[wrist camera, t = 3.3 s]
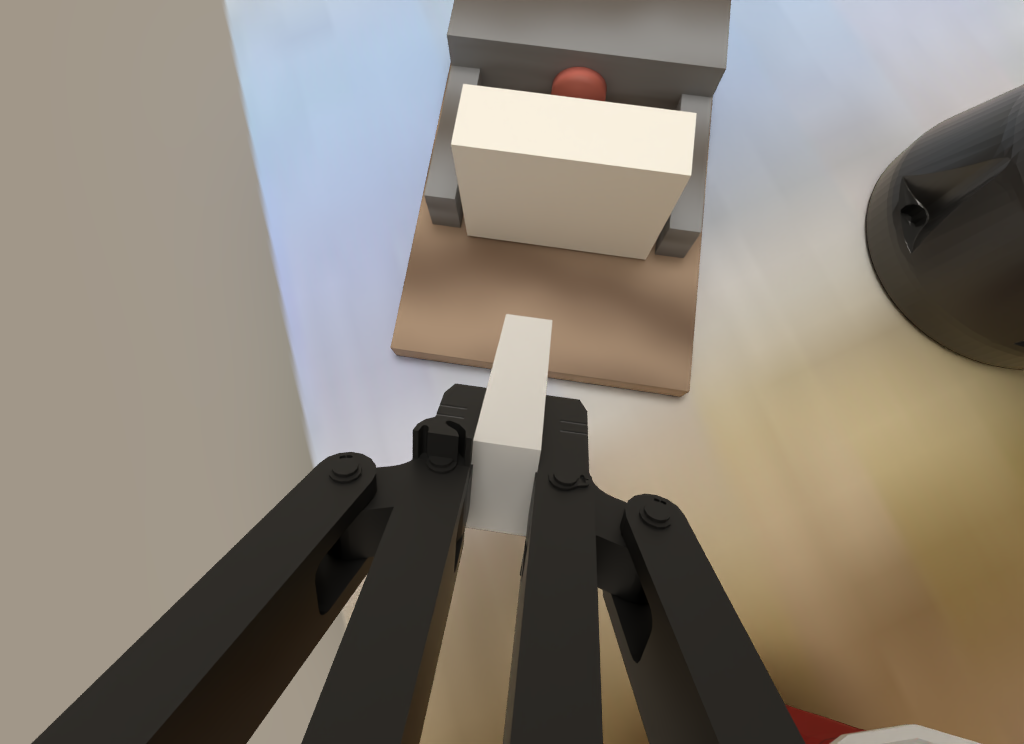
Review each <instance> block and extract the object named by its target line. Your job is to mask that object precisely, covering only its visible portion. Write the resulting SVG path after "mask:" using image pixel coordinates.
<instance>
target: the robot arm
mask: <svg viewBox="0 0 1024 744" xmlns="http://www.w3.org/2000/svg"><path fill="white" fill-rule="evenodd" d="M867 240H868V246H869V251H870V255H871V259H872V262H873V265H874V267H875V270H876V272H877V275H878V277H879V279H880V281H881V283H882V285H883V286H884V288H885V290H886V291H887V293H888V294H889V296H890V297H891V299H892V300H893V302H894V303H895V304H896V305H897V307H898V308H899V309H900V310H901V311H902V312H903V314H904V315H905V316H906V317H907V318H908V319H909V320H910V321H911V322H912V323H913V324H914V325H916V326H917V327H918V328H919V329H920V330H921V331H923V332H924V333H925V334H927V335H928V336H929V337H931V338H932V339H933V340H935V341H937V342H938V343H940V344H941V345H943V346H945V347H946V348H948V349H950V350H952V351H954V352H956V353H958V354H960V355H963V356H965V357H968V358H970V359H973V360H976V361H979V362H982V363H986V364H989V365H994V366H999V367H1005V368H1015V369H1024V85H1022V86H1019V87H1017V88H1015V89H1013V90H1010V91H1008V92H1006V93H1004V94H1002V95H999V96H997V97H995V98H993V99H991V100H988V101H986V102H984V103H982V104H980V105H977V106H975V107H973V108H971V109H968V110H966V111H964V112H962V113H960V114H957V115H955V116H953V117H951V118H949V119H947V120H945V121H943V122H941V123H939V124H938V125H936V126H935V127H933V128H931V129H930V130H929V131H927V132H926V133H924V134H923V135H922V136H921V137H919V138H918V139H917V140H916V141H915V142H913V143H912V144H911V145H910V146H909V147H908V148H907V149H906V150H905V151H903V152H902V153H901V154H900V155H899V156H898V157H897V158H896V159H895V160H894V161H893V162H892V163H891V164H890V165H889V166H888V167H887V168H886V170H885V171H884V172H883V174H882V175H881V177H880V179H879V180H878V182H877V184H876V186H875V188H874V190H873V193H872V196H871V199H870V203H869V207H868V213H867ZM551 331H552V320H547V319H540V318H533V317H525V316H518V315H511V314H506V317H505V320H504V324H503V328H502V332H501V336H500V340H499V344H498V347H497V351H496V355H495V359H494V363H493V367H492V370H491V374H490V378H489V382H488V386H487V388H483V387H476V386H469V385H462V384H454V385H453V386H452V387H451V388H450V389H448V390H447V391H446V392H445V393H444V395H443V398H442V401H441V403H440V406H439V409H438V411H437V415H436V416H435V417H433V418H429V419H425V420H424V421H422V422H420V423H418V424H417V425H416V427H415V428H414V429H413V459H412V460H411V461H409V462H407V463H404V464H401V465H396V466H389V467H378V468H376V465H375V463H374V462H373V461H372V459H371V458H369V457H367V456H365V455H363V454H360V453H354V452H346V453H338V454H335V455H332V456H329V457H328V458H326V459H325V460H323V461H322V462H320V463H319V464H318V465H317V466H316V467H315V468H314V469H313V470H312V471H311V472H310V473H309V474H308V475H307V476H306V477H305V478H304V479H303V480H302V481H301V482H300V483H299V484H298V485H297V486H296V487H295V488H293V490H291V491H290V492H289V493H288V494H287V495H286V496H285V497H284V498H283V499H282V500H281V501H280V502H279V503H278V504H277V505H276V506H275V507H274V508H273V509H272V510H271V511H270V512H269V513H268V514H267V515H266V516H265V517H264V518H263V519H262V520H261V521H260V522H259V523H258V524H257V525H256V526H255V527H253V528H252V529H251V530H250V531H249V532H248V534H246V535H245V536H244V537H243V538H242V539H241V540H240V541H239V542H238V543H237V544H236V545H235V546H234V547H233V548H232V549H231V550H230V551H229V552H228V553H227V554H226V555H225V556H224V557H223V558H222V559H221V560H219V562H217V563H216V564H215V565H214V566H213V567H212V568H211V569H210V570H209V571H208V572H207V573H206V574H205V575H204V576H203V577H202V578H201V579H200V580H199V581H198V582H197V583H196V584H195V585H194V586H193V587H192V588H191V589H190V590H189V591H188V592H187V593H186V594H185V595H184V596H183V597H181V598H180V599H179V600H178V601H177V602H176V603H175V604H174V605H173V606H172V607H171V608H170V609H169V610H168V611H167V612H166V613H165V614H164V615H163V616H162V617H161V618H160V619H159V620H158V621H157V622H156V623H155V624H154V625H153V626H152V627H151V628H150V629H149V630H148V631H147V632H146V633H144V635H143V636H141V637H140V638H139V639H138V640H137V641H136V642H135V643H134V644H133V645H132V646H131V647H130V648H129V649H128V650H127V651H126V652H125V653H124V654H123V655H122V656H121V657H120V658H119V659H118V660H117V661H116V662H115V663H114V664H113V665H112V666H111V667H110V668H109V669H107V670H106V671H105V672H104V673H103V674H102V675H101V676H100V677H99V678H98V679H97V680H96V681H95V682H94V683H93V684H92V685H91V686H90V687H89V688H88V689H87V690H86V691H85V692H84V693H83V694H82V695H81V696H80V697H79V698H78V699H77V700H76V701H75V702H74V703H73V704H72V705H70V707H68V708H67V709H66V710H65V711H64V712H63V713H62V714H61V716H59V717H58V718H57V719H56V720H55V721H54V722H53V723H52V724H51V725H50V726H49V727H48V728H47V729H46V730H45V731H44V732H43V733H42V734H41V735H40V736H39V737H38V738H37V739H36V740H35V741H34V742H33V743H32V744H246V743H247V742H248V741H249V739H250V738H251V736H252V735H253V734H254V732H255V731H256V729H257V728H258V726H259V725H260V724H261V722H262V721H263V719H264V718H265V717H266V715H267V714H268V712H269V711H270V709H271V708H272V707H273V705H274V704H275V703H276V701H277V700H278V698H279V697H280V696H281V694H282V693H283V691H284V690H285V689H286V687H287V686H288V684H289V683H290V681H291V680H292V679H293V677H294V676H295V674H296V673H297V672H298V670H299V669H300V668H301V666H302V665H303V663H304V662H305V661H306V659H307V658H308V656H309V655H310V653H311V652H312V651H313V649H314V648H315V646H316V645H317V644H318V642H319V641H320V639H321V638H322V637H323V635H324V634H325V632H326V631H327V630H328V628H329V627H330V625H331V624H332V623H333V621H334V620H335V618H336V617H337V616H338V614H339V613H340V611H341V610H342V609H343V607H344V606H345V604H346V603H347V602H348V600H349V599H350V597H351V596H352V595H353V593H354V592H355V590H356V589H357V588H358V586H359V585H360V583H361V582H362V580H363V579H364V578H365V576H366V575H367V577H366V579H365V582H364V585H363V587H362V590H361V592H360V595H359V597H358V600H357V602H356V605H355V608H354V610H353V613H352V615H351V618H350V620H349V623H348V625H347V628H346V631H345V633H344V636H343V638H342V641H341V643H340V646H339V649H338V651H337V654H336V656H335V659H334V661H333V664H332V666H331V669H330V672H329V674H328V677H327V679H326V682H325V685H324V687H323V690H322V692H321V695H320V697H319V700H318V702H317V705H316V708H315V710H314V713H313V715H312V718H311V720H310V723H309V725H308V728H307V731H306V733H305V736H304V738H303V741H302V743H301V744H419V742H420V738H421V733H422V729H423V724H424V720H425V715H426V711H427V706H428V702H429V698H430V693H431V689H432V684H433V680H434V675H435V671H436V666H437V662H438V657H439V653H440V648H441V644H442V639H443V635H444V630H445V626H446V621H447V617H448V612H449V608H450V603H451V599H452V594H453V590H454V585H455V581H456V576H457V572H458V567H459V563H460V558H461V554H462V549H463V543H464V531H465V526H466V527H467V528H473V529H480V530H487V531H493V532H500V533H506V534H513V535H520V536H526V541H525V547H524V553H523V559H522V565H521V571H520V576H521V580H520V589H519V598H518V608H517V617H516V626H515V635H514V644H513V654H512V663H511V672H510V681H509V691H508V700H507V709H506V718H505V728H504V737H503V744H603V732H602V703H601V674H600V646H599V617H598V588H600V589H602V590H603V597H604V600H605V603H606V606H607V610H608V613H609V616H610V619H611V622H612V626H613V629H614V632H615V635H616V638H617V642H618V645H619V648H620V651H621V654H622V658H623V661H624V664H625V667H626V670H627V674H628V677H629V680H630V683H631V686H632V689H633V693H634V696H635V699H636V702H637V705H638V709H639V712H640V715H641V718H642V721H643V725H644V728H645V731H646V734H647V737H648V741H649V744H806V743H805V742H804V740H803V738H802V736H801V734H800V732H799V730H798V728H797V726H796V725H795V723H794V721H793V719H792V717H791V715H790V713H789V711H788V710H787V708H786V706H785V704H784V702H783V700H782V698H781V696H780V694H779V693H778V691H777V689H776V687H775V685H774V683H773V681H772V679H771V677H770V676H769V674H768V672H767V670H766V668H765V666H764V664H763V662H762V660H761V659H760V657H759V655H758V653H757V651H756V649H755V647H754V645H753V644H752V642H751V640H750V638H749V636H748V634H747V632H746V630H745V628H744V627H743V625H742V623H741V621H740V619H739V617H738V615H737V613H736V611H735V610H734V608H733V606H732V604H731V602H730V600H729V598H728V596H727V595H726V593H725V591H724V589H723V587H722V585H721V583H720V581H719V579H718V578H717V576H716V574H715V572H714V570H713V568H712V566H711V564H710V562H709V561H708V559H707V557H706V555H705V553H704V551H703V549H702V547H701V546H700V544H699V542H698V540H697V538H696V536H695V534H694V532H693V530H692V529H691V527H690V525H689V523H688V521H687V519H686V517H685V515H684V514H683V513H682V511H681V510H680V509H679V508H678V506H676V505H675V504H673V503H672V502H671V501H669V500H668V499H665V498H662V497H660V496H657V495H651V494H642V495H637V496H634V497H633V498H631V499H630V500H628V502H627V503H626V502H624V501H621V500H619V499H616V498H614V497H612V496H610V495H608V494H606V493H604V492H603V491H602V490H600V489H599V488H598V487H597V486H596V485H595V484H594V483H593V480H592V477H591V476H590V474H589V457H588V426H587V424H588V422H587V410H586V409H585V407H584V406H583V404H582V403H581V401H580V400H577V399H570V398H563V397H556V396H549V395H546V387H547V376H548V365H549V353H550V342H551ZM466 522H467V523H466ZM367 573H368V574H367ZM597 587H598V588H597Z"/></svg>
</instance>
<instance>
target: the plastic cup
mask: <svg viewBox="0 0 1024 744" xmlns="http://www.w3.org/2000/svg"><path fill="white" fill-rule="evenodd" d="M785 706H786V708H787V710H788V711H789V713H790V715H791V717H792V719H793V721H794V723H795V725H796V726H797V728H798V730H799V732H800V734H801V736H802V738H803V740H804V742H805V743H806V744H981V743H977V742H974V741H971V740H967V739H964V738H960V737H957V736H954V735H950V734H947V733H943V732H940V731H937V730H933V729H930V728H926V727H923V726H920V725H916V724H905V725H899V726H893V727H886V728H880V729H874V730H868V731H866V730H863V729H858V728H855V727H852V726H849V725H846V724H843V723H840V722H837V721H834V720H832V719H829V718H826V717H823V716H820V715H816V714H813V713H810V712H806V711H803V710H800V709H796V708H793V707H791V706H788V705H785Z"/></svg>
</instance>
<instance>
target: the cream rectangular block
mask: <svg viewBox="0 0 1024 744" xmlns="http://www.w3.org/2000/svg"><path fill="white" fill-rule="evenodd" d="M696 114H697V113H692V112H684V111H676V110H668V109H660V108H652V107H644V106H636V105H628V104H620V103H612V102H604V101H597V100H589V99H581V98H573V97H565V96H557V95H549V94H541V93H533V92H525V91H517V90H509V89H501V88H493V87H485V86H477V85H469V84H463V87H462V92H461V97H460V102H459V107H458V112H457V117H456V122H455V127H454V132H453V137H452V142H451V147H452V153H453V158H454V164H455V170H456V175H457V181H458V186H459V192H460V197H461V203H462V208H463V214H464V219H465V225H466V230H467V235H468V236H475V237H483V238H490V239H497V240H505V241H512V242H519V243H527V244H534V245H541V246H549V247H556V248H563V249H571V250H578V251H585V252H592V253H600V254H607V255H614V256H622V257H629V258H636V259H644V260H646V258H647V257H648V255H649V253H650V251H651V249H652V247H653V245H654V244H655V242H656V240H657V238H658V236H659V234H660V232H661V231H662V229H663V227H664V225H665V223H666V221H667V220H668V218H669V216H670V214H671V212H672V210H673V208H674V207H675V205H676V203H677V201H678V199H679V197H680V195H681V194H682V192H683V190H684V188H685V186H686V184H687V182H688V181H689V179H690V177H691V172H692V160H693V149H694V137H695V126H696Z"/></svg>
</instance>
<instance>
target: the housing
mask: <svg viewBox="0 0 1024 744" xmlns="http://www.w3.org/2000/svg"><path fill="white" fill-rule="evenodd" d="M730 8H731V0H454V4H453V9H452V14H451V18H450V23H449V28H448V32H447V38H448V45H449V52H450V59H451V64H450V69H449V73H448V78H447V83H446V87H445V92H444V97H443V102H442V106H441V111H440V116H439V121H438V125H437V130H436V135H435V140H434V144H433V149H432V154H431V159H430V163H429V168H428V173H427V177H426V182H425V187H424V192H423V196H422V201H421V206H420V211H419V215H418V220H417V225H416V230H415V234H414V239H413V244H412V249H411V253H410V258H409V263H408V267H407V272H406V277H405V282H404V286H403V291H402V296H401V301H400V305H399V310H398V315H397V320H396V324H395V329H394V334H393V339H392V343H391V349H392V350H393V351H394V353H395V354H396V355H400V356H406V357H413V358H420V359H427V360H434V361H441V362H447V363H454V364H461V365H468V366H475V367H481V368H488V369H492V367H493V363H494V359H495V355H496V351H497V347H498V344H499V340H500V336H501V332H502V328H503V324H504V320H505V317H506V314H511V315H518V316H525V317H533V318H540V319H547V320H552V331H551V342H550V353H549V365H548V376H547V377H550V378H557V379H563V380H570V381H577V382H584V383H591V384H597V385H604V386H611V387H618V388H625V389H632V390H638V391H645V392H652V393H659V394H666V395H672V396H679V397H681V396H683V395H684V394H686V393H688V392H689V389H690V377H691V364H692V351H693V339H694V326H695V313H696V301H697V288H698V275H699V263H700V250H701V237H702V224H703V212H704V199H705V186H706V174H707V161H708V148H709V136H710V123H711V110H712V98H713V94H714V92H715V90H716V88H717V86H718V84H719V82H720V80H721V78H722V76H723V74H724V72H725V70H726V62H727V49H728V35H729V21H730ZM463 84H469V85H477V86H485V87H493V88H501V89H509V90H517V91H525V92H533V93H541V94H549V95H557V96H565V97H573V98H581V99H589V100H597V101H604V102H612V103H620V104H628V105H636V106H644V107H652V108H660V109H668V110H676V111H684V112H692V113H697V114H696V126H695V137H694V149H693V160H692V172H691V177H690V179H689V181H688V182H687V184H686V186H685V188H684V190H683V192H682V194H681V195H680V197H679V199H678V201H677V203H676V205H675V207H674V208H673V210H672V212H671V214H670V216H669V218H668V220H667V221H666V223H665V225H664V227H663V229H662V231H661V232H660V234H659V236H658V238H657V240H656V242H655V244H654V245H653V247H652V249H651V251H650V253H649V255H648V257H647V258H646V260H644V259H636V258H629V257H622V256H614V255H607V254H600V253H592V252H585V251H578V250H571V249H563V248H556V247H549V246H541V245H534V244H527V243H519V242H512V241H505V240H497V239H490V238H483V237H475V236H468V235H467V230H466V225H465V219H464V214H463V208H462V203H461V197H460V192H459V186H458V181H457V175H456V170H455V164H454V158H453V153H452V147H451V142H452V137H453V132H454V127H455V122H456V117H457V112H458V107H459V102H460V97H461V92H462V87H463Z"/></svg>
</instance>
